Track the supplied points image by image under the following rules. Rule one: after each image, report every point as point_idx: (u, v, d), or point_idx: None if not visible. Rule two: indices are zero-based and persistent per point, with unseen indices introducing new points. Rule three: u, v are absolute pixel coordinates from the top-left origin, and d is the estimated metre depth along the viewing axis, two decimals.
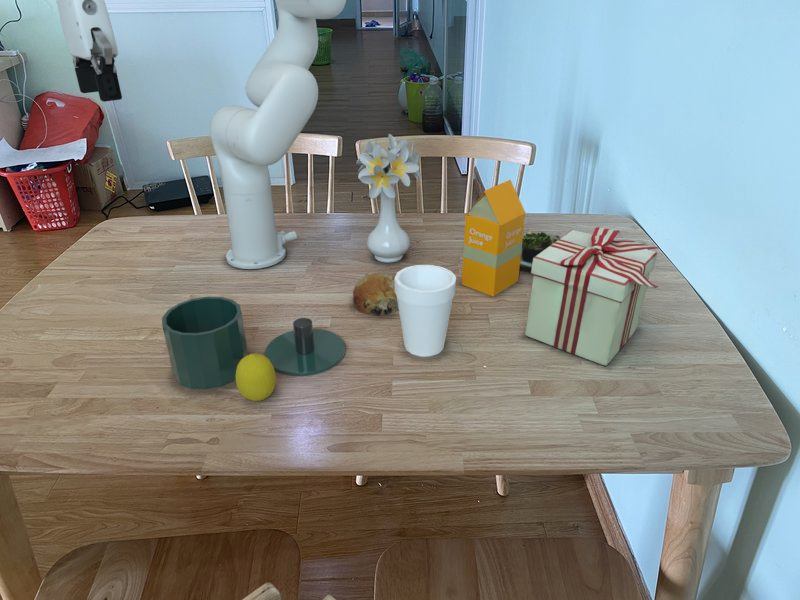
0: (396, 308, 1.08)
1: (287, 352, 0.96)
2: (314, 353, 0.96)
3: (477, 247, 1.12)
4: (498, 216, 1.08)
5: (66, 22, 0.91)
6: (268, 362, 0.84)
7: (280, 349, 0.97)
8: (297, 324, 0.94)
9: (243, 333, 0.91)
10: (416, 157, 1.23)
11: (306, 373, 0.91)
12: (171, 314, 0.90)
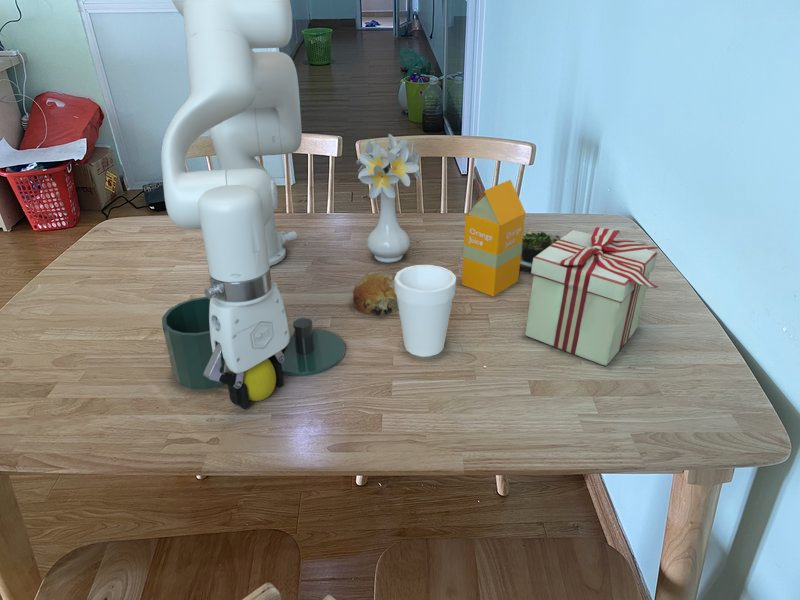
0: (396, 308, 1.08)
1: (287, 352, 0.96)
2: (314, 353, 0.96)
3: (477, 247, 1.12)
4: (498, 216, 1.08)
5: None
6: (268, 362, 0.84)
7: None
8: (297, 324, 0.94)
9: None
10: (416, 157, 1.23)
11: (306, 373, 0.91)
12: (171, 314, 0.90)
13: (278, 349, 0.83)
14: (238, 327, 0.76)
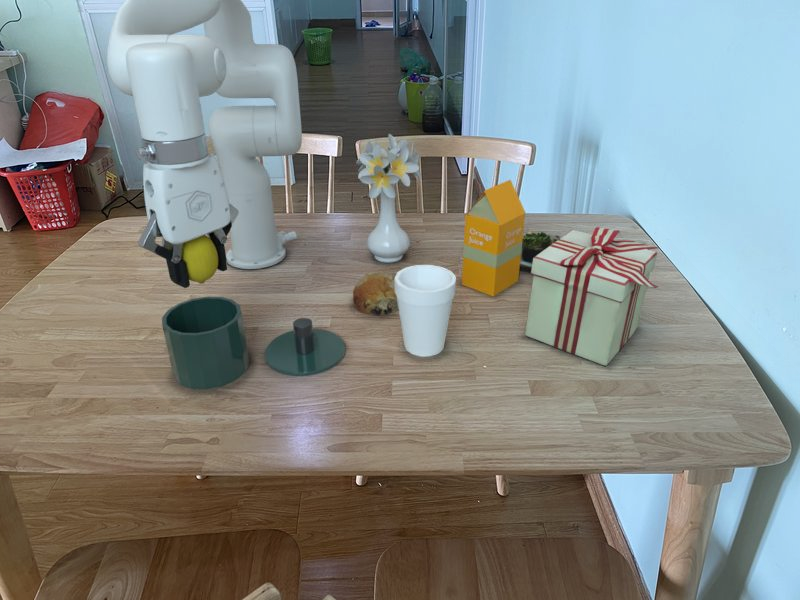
0: (396, 308, 1.08)
1: (287, 352, 0.96)
2: (314, 353, 0.96)
3: (477, 247, 1.12)
4: (498, 216, 1.08)
5: None
6: (209, 240, 0.82)
7: (280, 349, 0.97)
8: (297, 324, 0.94)
9: (243, 333, 0.91)
10: (416, 157, 1.23)
11: (306, 373, 0.91)
12: (171, 314, 0.90)
13: (218, 225, 0.81)
14: (172, 192, 0.74)
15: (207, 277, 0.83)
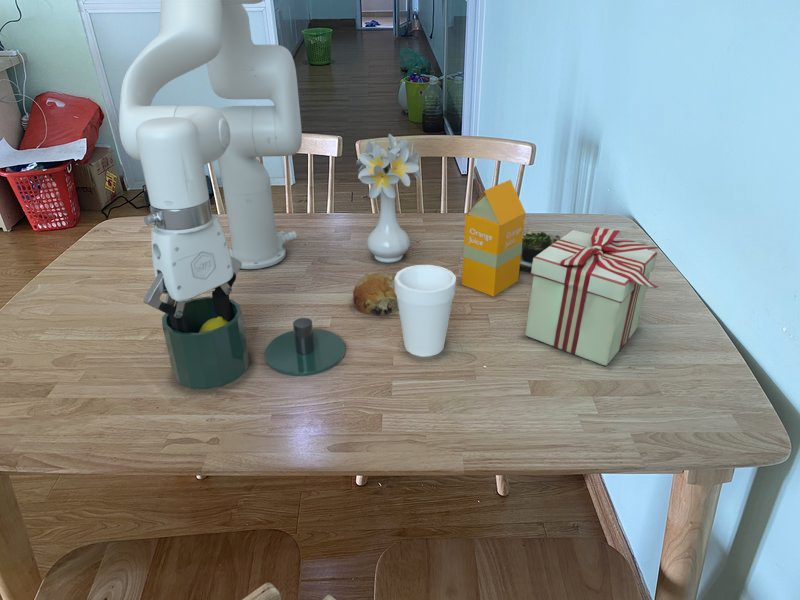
0: (396, 308, 1.08)
1: (287, 352, 0.96)
2: (314, 353, 0.96)
3: (477, 247, 1.12)
4: (498, 216, 1.08)
5: None
6: None
7: (280, 349, 0.97)
8: (297, 324, 0.94)
9: (243, 333, 0.91)
10: (416, 157, 1.23)
11: (306, 373, 0.91)
12: None
13: (221, 282, 0.87)
14: (178, 255, 0.80)
15: None
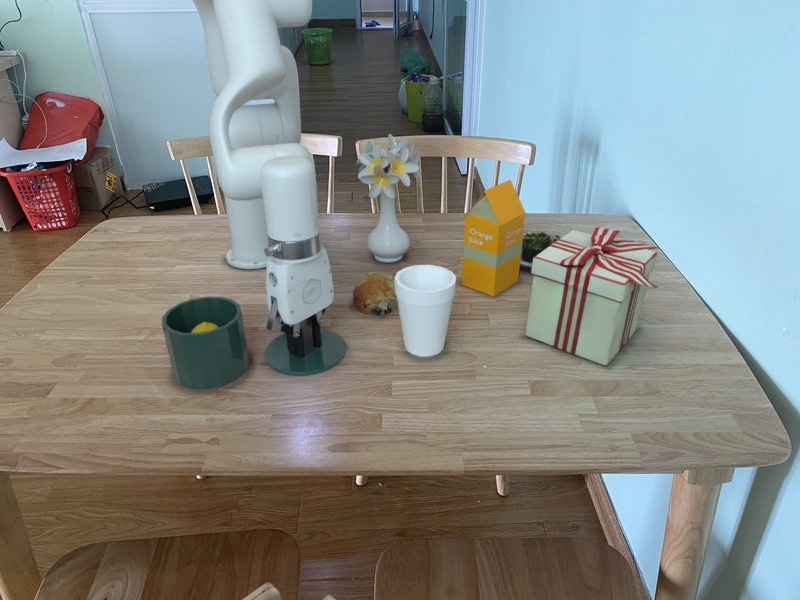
0: (396, 308, 1.08)
1: (287, 352, 0.96)
2: (314, 353, 0.96)
3: (477, 247, 1.12)
4: (498, 216, 1.08)
5: None
6: None
7: (280, 349, 0.97)
8: None
9: (243, 333, 0.91)
10: (416, 157, 1.23)
11: (306, 373, 0.91)
12: (171, 314, 0.90)
13: (324, 306, 0.93)
14: (293, 283, 0.86)
15: None
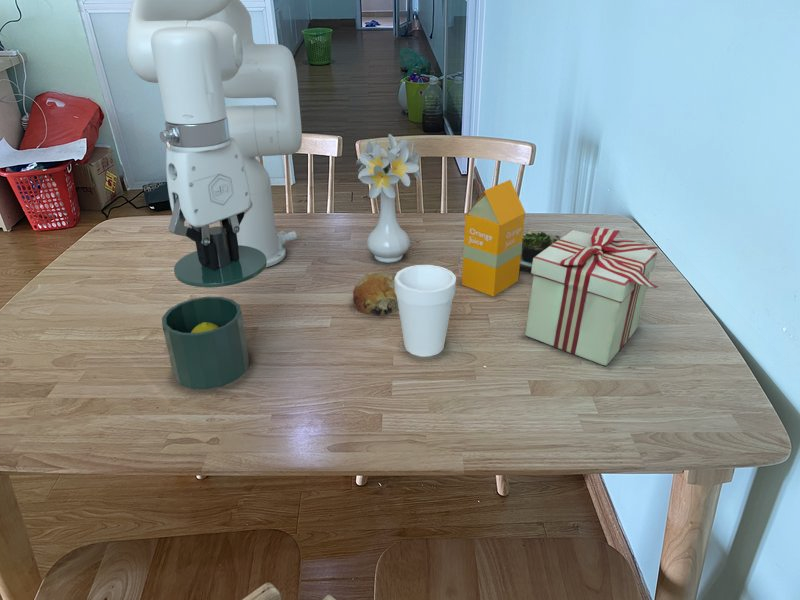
0: (396, 308, 1.08)
1: (200, 265, 0.85)
2: (230, 266, 0.85)
3: (477, 247, 1.12)
4: (498, 216, 1.08)
5: None
6: None
7: (192, 263, 0.86)
8: None
9: (243, 333, 0.91)
10: (416, 157, 1.23)
11: (217, 284, 0.81)
12: (171, 314, 0.90)
13: (238, 210, 0.82)
14: (195, 175, 0.75)
15: None
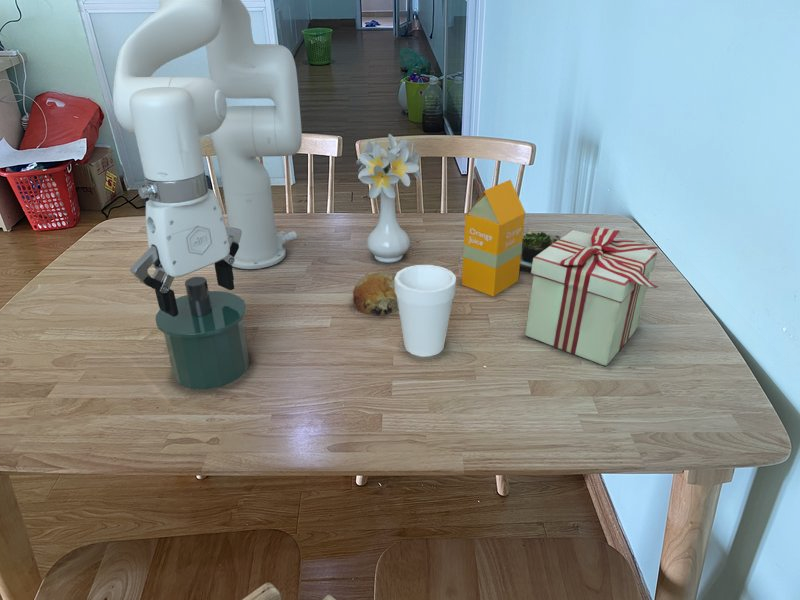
0: (396, 308, 1.08)
1: (181, 314, 0.88)
2: (210, 315, 0.88)
3: (477, 247, 1.12)
4: (498, 216, 1.08)
5: None
6: None
7: None
8: (189, 282, 0.86)
9: (243, 333, 0.91)
10: (416, 157, 1.23)
11: (196, 335, 0.83)
12: None
13: (217, 258, 0.85)
14: (173, 228, 0.78)
15: None
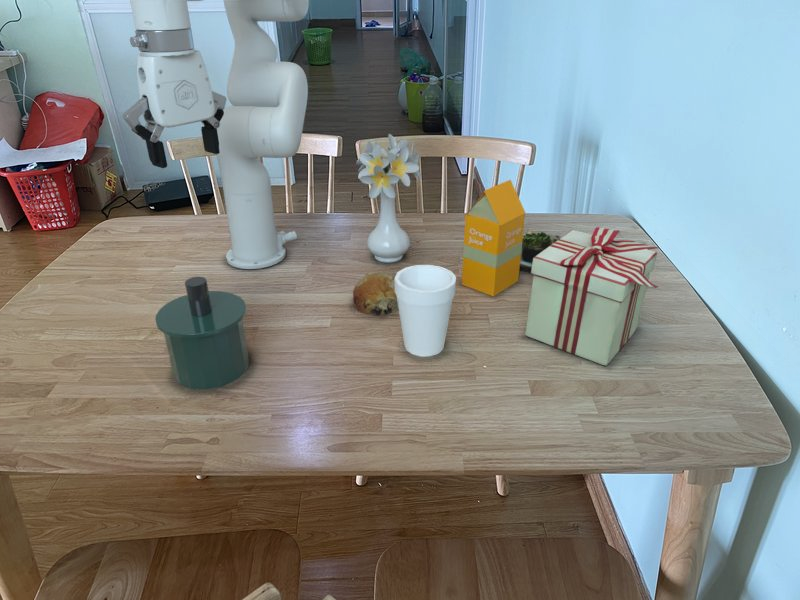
0: (396, 308, 1.08)
1: (181, 314, 0.88)
2: (210, 315, 0.88)
3: (477, 247, 1.12)
4: (498, 216, 1.08)
5: None
6: None
7: (174, 311, 0.89)
8: (189, 282, 0.86)
9: (243, 333, 0.91)
10: (416, 157, 1.23)
11: (196, 335, 0.83)
12: None
13: (203, 116, 0.92)
14: (161, 78, 0.85)
15: None
